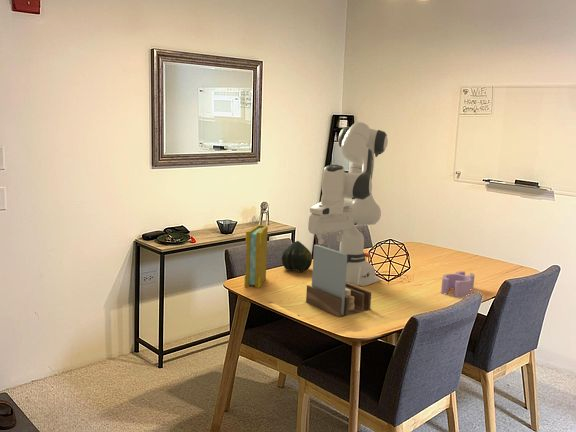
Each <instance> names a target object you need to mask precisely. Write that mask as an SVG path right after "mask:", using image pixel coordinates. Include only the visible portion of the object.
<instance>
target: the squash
mask: <svg viewBox="0 0 576 432" xmlns="http://www.w3.org/2000/svg"><path fill="white" fill-rule="evenodd" d="M312 255H313V254H312V252H311V251H310V250H309V249H308V247H306V246H305V245H304V244H303V243H302V242H301V241H300V240H297V241H294V242H292V243H291V244H290V245H287V247H286V248H285V249H284V251H283V252H282V255H281V263H282V266H283V268H284V269H285V270H287V271H293V270H294V271H297V272H298V273H303V272H305V271H307V270H309V269H310V267H311V265H312V264H313V256H312Z"/></svg>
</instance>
